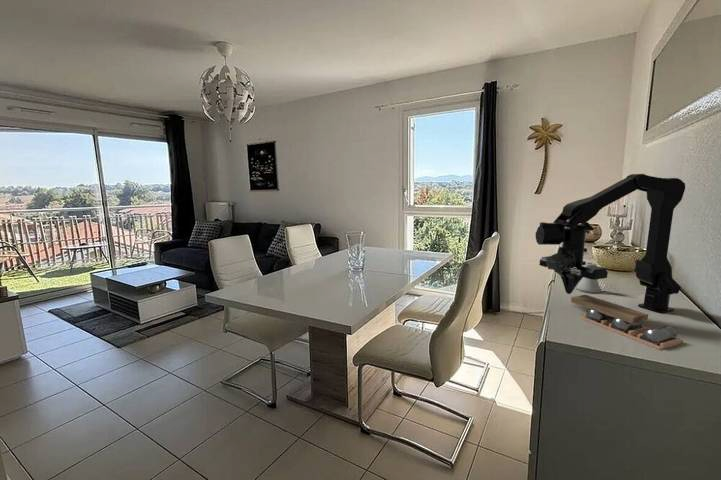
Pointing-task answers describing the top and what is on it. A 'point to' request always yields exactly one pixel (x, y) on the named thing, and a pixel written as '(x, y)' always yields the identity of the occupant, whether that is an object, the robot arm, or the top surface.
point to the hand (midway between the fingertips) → (568, 293)
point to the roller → (659, 335)
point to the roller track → (635, 333)
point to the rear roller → (597, 316)
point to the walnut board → (610, 309)
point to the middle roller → (625, 325)
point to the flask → (589, 283)
